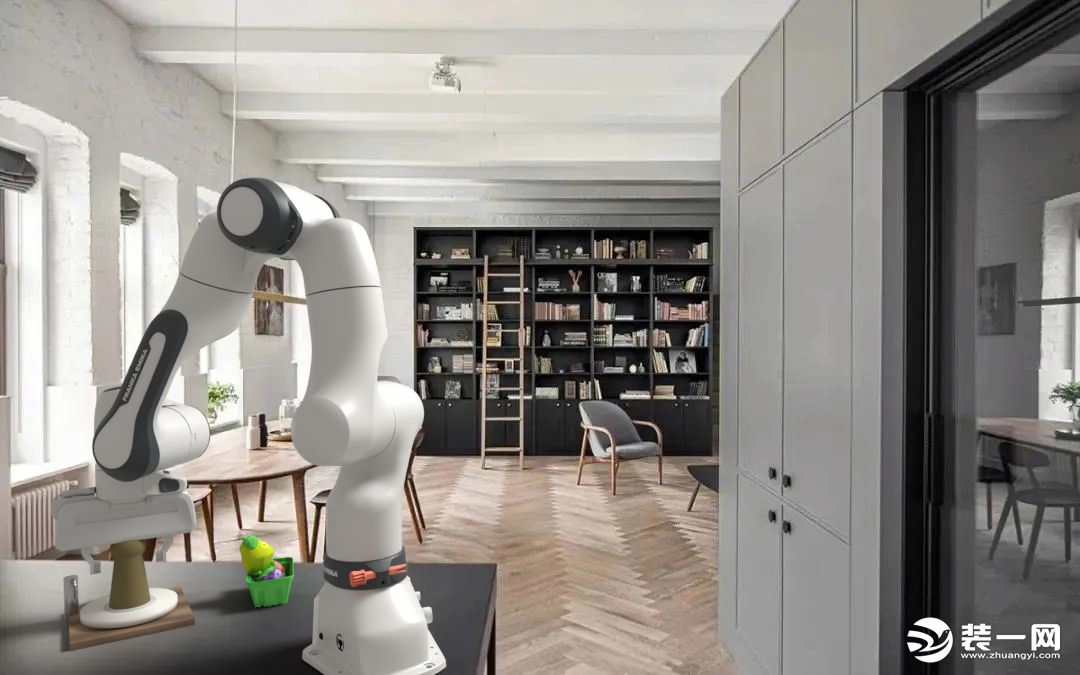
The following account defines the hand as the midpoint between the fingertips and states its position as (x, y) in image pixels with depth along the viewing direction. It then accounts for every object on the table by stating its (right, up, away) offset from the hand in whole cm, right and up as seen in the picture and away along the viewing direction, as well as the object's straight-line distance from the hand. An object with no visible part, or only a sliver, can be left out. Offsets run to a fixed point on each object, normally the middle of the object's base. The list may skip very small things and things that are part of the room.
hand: (128, 567), depth 122 cm
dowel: (-9, -9, 0) cm, 13 cm away
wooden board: (0, -8, 0) cm, 8 cm away
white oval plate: (-1, -7, +2) cm, 7 cm away
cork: (0, -6, 0) cm, 6 cm away
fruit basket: (+19, -8, +9) cm, 23 cm away
